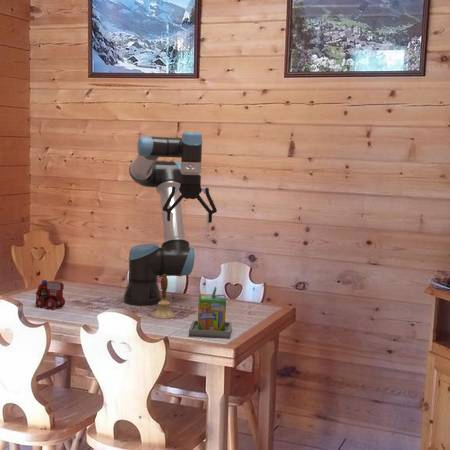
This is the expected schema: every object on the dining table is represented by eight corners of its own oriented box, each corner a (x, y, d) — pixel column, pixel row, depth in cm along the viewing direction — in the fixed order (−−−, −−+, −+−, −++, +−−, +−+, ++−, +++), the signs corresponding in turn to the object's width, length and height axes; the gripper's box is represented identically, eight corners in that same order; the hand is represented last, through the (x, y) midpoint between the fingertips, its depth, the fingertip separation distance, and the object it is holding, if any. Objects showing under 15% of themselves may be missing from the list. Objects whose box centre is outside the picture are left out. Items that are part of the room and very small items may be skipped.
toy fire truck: (43, 303, 269) (43, 277, 268) (68, 307, 264) (68, 280, 263) (31, 306, 263) (31, 280, 262) (56, 310, 257) (56, 283, 256)
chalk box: (197, 326, 238) (198, 284, 236) (223, 327, 238) (225, 285, 237) (197, 333, 228) (199, 289, 227) (225, 333, 229) (226, 290, 228)
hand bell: (175, 319, 251) (176, 276, 249) (152, 319, 249) (154, 276, 248) (173, 314, 259) (175, 272, 257) (151, 314, 258) (152, 272, 256)
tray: (188, 336, 227) (189, 330, 227) (192, 326, 240) (193, 320, 240) (229, 338, 226) (230, 331, 226) (231, 328, 240) (231, 322, 240)
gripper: (156, 173, 251) (154, 230, 254) (223, 175, 250) (221, 233, 252) (159, 172, 259) (157, 228, 261) (224, 175, 258) (222, 231, 260)
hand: (189, 230), depth 257 cm, fingers open, 13 cm apart
